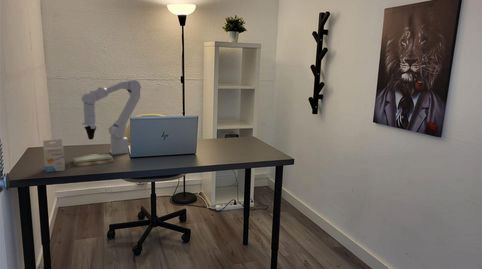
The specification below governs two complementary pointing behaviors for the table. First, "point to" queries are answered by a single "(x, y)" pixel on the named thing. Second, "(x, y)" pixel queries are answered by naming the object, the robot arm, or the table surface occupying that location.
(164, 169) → the table surface
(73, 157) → the base leaf
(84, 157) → the hinge leaf
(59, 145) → the ink box
